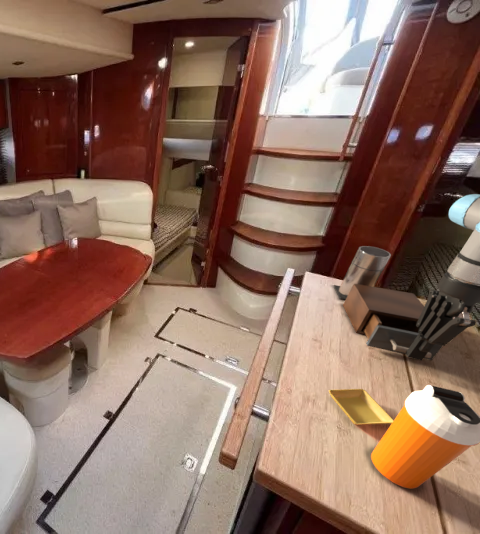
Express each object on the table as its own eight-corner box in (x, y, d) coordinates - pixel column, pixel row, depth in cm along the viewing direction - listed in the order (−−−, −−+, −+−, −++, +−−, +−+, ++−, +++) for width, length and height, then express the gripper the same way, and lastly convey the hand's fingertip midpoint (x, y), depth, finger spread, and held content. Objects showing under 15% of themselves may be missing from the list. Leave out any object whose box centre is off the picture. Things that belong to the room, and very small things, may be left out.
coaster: (363, 291, 110) (364, 290, 109) (372, 305, 103) (372, 304, 102) (333, 286, 113) (333, 284, 113) (339, 299, 106) (340, 298, 106)
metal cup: (362, 290, 109) (385, 248, 101) (370, 303, 103) (395, 259, 94) (335, 285, 112) (355, 244, 104) (341, 297, 106) (363, 254, 97)
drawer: (440, 372, 77) (456, 352, 74) (372, 356, 82) (384, 337, 79) (409, 328, 91) (421, 310, 88) (353, 317, 96) (362, 299, 93)
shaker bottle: (381, 487, 56) (443, 422, 46) (355, 440, 64) (404, 375, 54) (440, 500, 54) (518, 435, 44) (406, 450, 62) (467, 385, 52)
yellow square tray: (392, 428, 66) (397, 422, 65) (352, 429, 66) (356, 424, 65) (359, 394, 73) (363, 388, 72) (324, 395, 73) (327, 389, 72)
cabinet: (420, 346, 86) (438, 322, 82) (355, 332, 91) (369, 309, 87) (399, 315, 98) (413, 293, 93) (342, 305, 103) (353, 283, 99)
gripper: (517, 298, 59) (447, 380, 71) (476, 267, 69) (420, 343, 81) (465, 290, 62) (405, 370, 74) (432, 261, 72) (384, 336, 84)
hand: (413, 356), depth 77 cm, fingers closed
